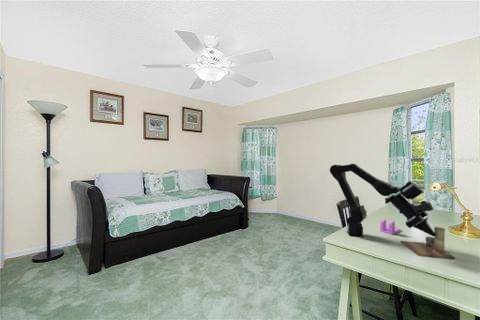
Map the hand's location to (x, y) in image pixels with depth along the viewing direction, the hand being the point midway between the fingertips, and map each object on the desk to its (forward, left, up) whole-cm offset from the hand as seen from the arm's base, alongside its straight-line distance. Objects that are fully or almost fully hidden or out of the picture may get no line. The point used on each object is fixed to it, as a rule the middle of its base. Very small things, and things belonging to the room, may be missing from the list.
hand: (434, 235), depth 93 cm
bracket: (-5, +29, -8) cm, 31 cm away
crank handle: (+2, +4, -7) cm, 8 cm away
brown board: (-1, +4, -8) cm, 9 cm away
